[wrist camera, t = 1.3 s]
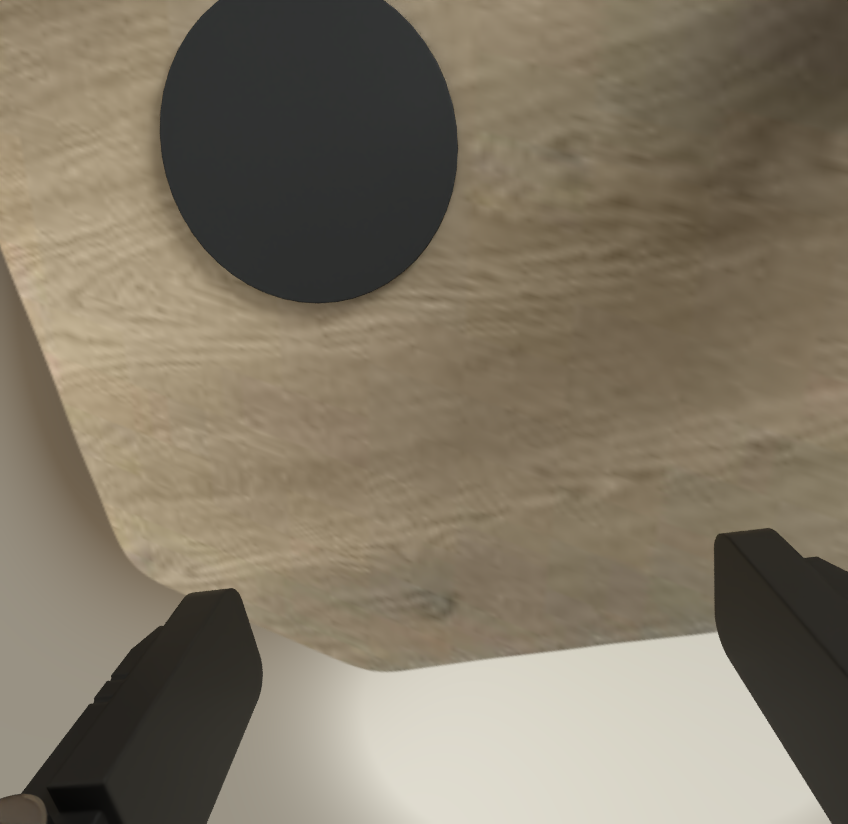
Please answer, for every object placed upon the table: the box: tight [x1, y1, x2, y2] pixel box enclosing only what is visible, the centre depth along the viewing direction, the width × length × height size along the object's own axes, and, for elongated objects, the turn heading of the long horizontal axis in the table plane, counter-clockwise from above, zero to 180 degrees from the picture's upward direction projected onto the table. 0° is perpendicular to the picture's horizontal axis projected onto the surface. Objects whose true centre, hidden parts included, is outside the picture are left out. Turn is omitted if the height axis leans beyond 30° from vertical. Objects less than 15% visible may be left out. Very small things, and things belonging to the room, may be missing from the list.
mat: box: [160, 0, 458, 303], centre depth 30 cm, size 16×16×1 cm
